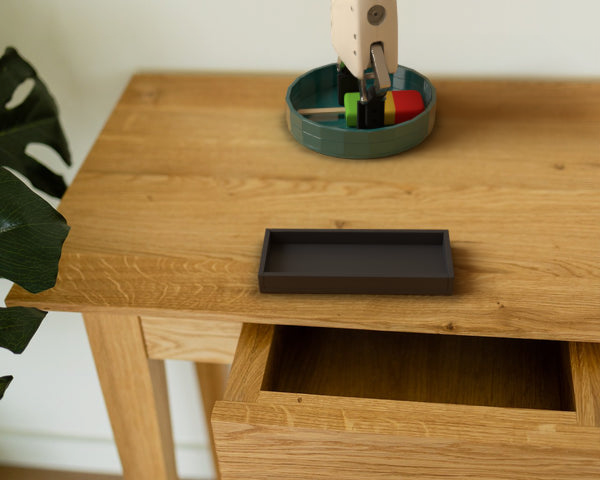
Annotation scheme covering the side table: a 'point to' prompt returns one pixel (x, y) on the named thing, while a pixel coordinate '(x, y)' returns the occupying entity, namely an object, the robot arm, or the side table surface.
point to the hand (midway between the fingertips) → (360, 115)
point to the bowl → (333, 127)
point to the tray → (356, 261)
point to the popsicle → (396, 107)
